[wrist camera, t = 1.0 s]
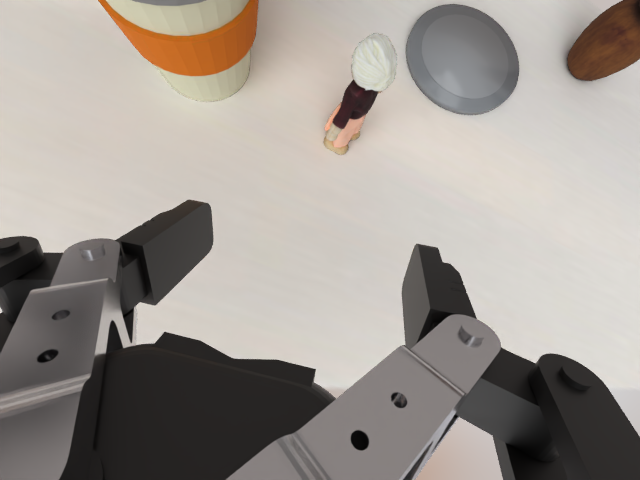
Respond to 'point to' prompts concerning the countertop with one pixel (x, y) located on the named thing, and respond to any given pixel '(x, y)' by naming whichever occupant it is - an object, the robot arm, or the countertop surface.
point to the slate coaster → (462, 59)
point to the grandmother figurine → (361, 90)
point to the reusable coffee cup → (192, 41)
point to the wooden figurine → (607, 43)
